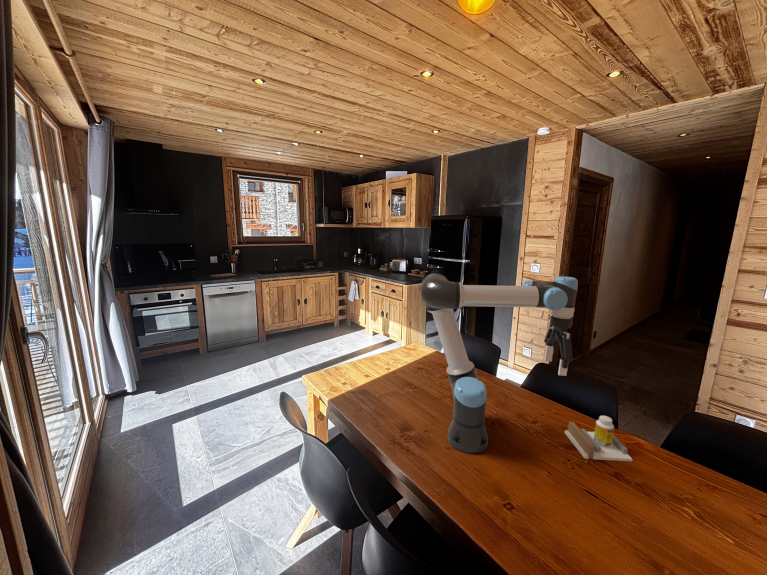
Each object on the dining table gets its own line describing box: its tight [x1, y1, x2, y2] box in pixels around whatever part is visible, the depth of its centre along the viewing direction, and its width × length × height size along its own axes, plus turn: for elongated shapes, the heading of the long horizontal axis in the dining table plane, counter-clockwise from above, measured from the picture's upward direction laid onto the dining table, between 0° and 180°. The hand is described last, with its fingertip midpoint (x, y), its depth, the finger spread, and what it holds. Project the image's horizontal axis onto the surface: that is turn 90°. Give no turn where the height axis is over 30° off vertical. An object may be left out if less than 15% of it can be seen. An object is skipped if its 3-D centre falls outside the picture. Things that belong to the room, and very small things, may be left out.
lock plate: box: [564, 421, 633, 462], centre depth 119 cm, size 16×15×5 cm
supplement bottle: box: [594, 415, 615, 447], centre depth 119 cm, size 6×6×10 cm
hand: (554, 367), depth 127 cm, fingers open, 13 cm apart
